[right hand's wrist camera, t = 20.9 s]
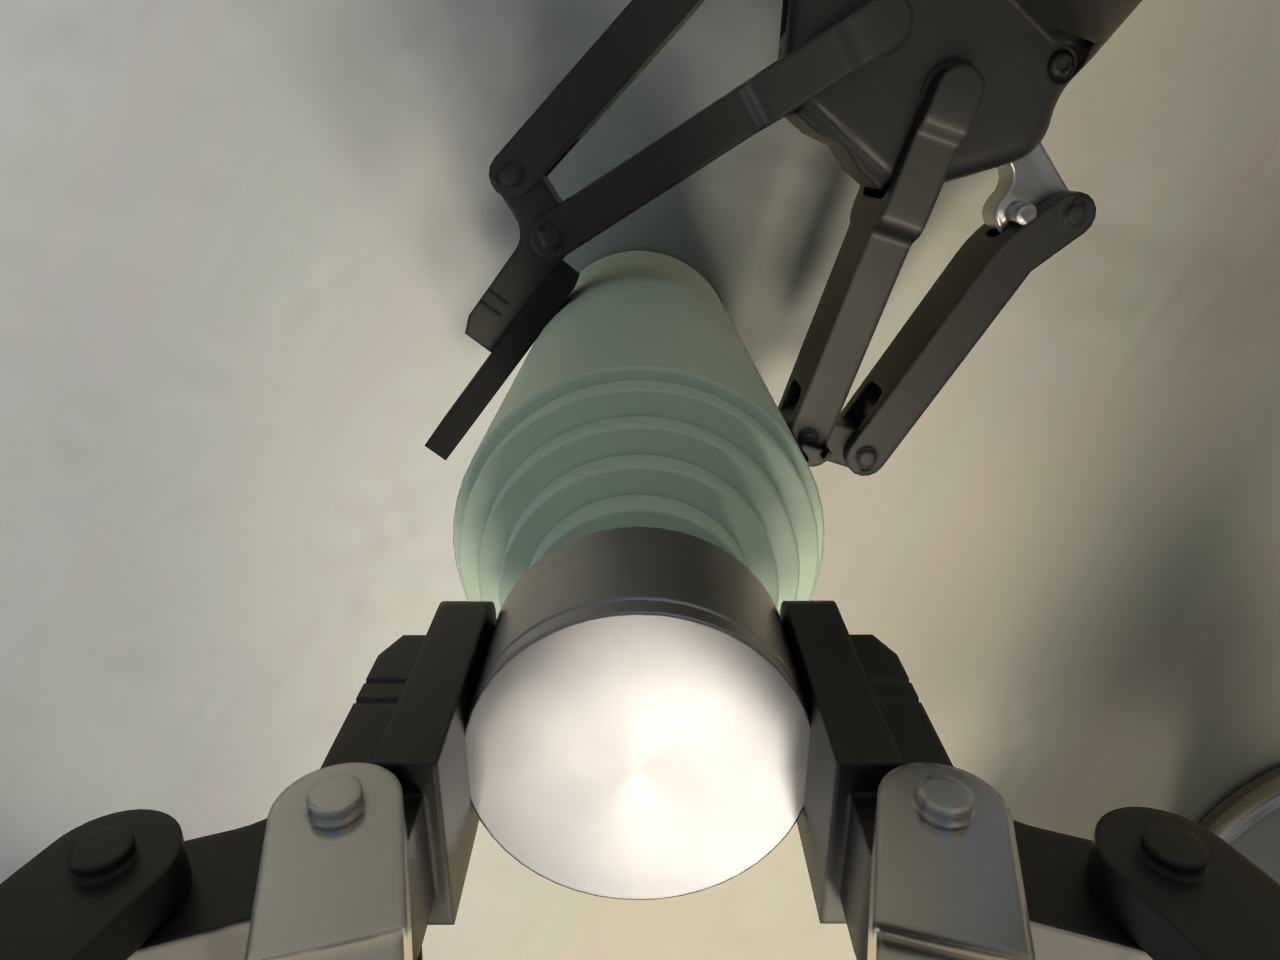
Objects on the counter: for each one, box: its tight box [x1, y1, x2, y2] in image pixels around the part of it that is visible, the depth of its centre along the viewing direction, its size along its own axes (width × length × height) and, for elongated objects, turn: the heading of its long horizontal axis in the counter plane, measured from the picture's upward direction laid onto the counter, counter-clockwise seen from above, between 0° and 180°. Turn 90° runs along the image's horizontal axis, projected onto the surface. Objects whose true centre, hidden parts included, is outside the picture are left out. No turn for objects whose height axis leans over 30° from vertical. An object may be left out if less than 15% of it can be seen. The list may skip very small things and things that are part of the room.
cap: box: [465, 527, 811, 900], centre depth 11 cm, size 4×4×2 cm
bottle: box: [453, 251, 824, 618], centre depth 22 cm, size 7×7×23 cm
